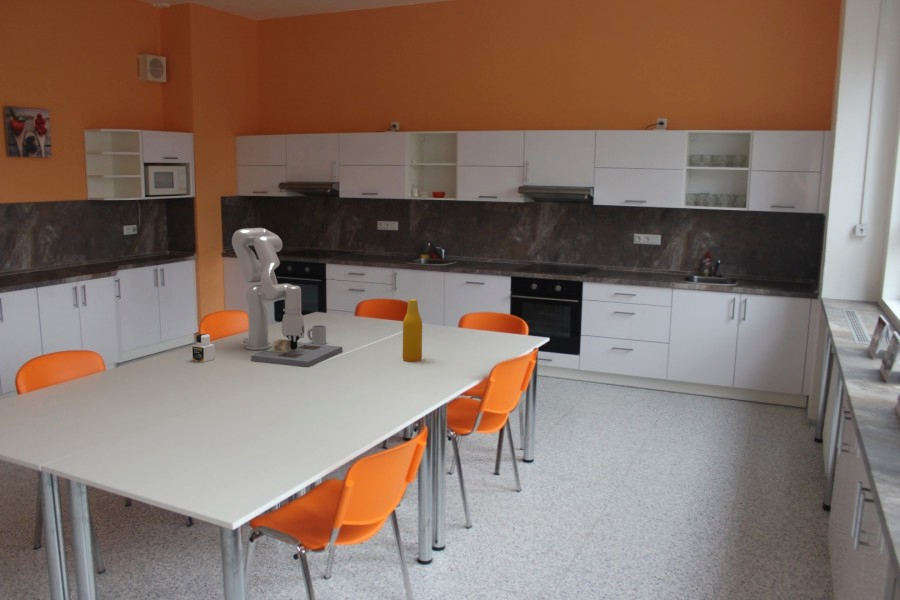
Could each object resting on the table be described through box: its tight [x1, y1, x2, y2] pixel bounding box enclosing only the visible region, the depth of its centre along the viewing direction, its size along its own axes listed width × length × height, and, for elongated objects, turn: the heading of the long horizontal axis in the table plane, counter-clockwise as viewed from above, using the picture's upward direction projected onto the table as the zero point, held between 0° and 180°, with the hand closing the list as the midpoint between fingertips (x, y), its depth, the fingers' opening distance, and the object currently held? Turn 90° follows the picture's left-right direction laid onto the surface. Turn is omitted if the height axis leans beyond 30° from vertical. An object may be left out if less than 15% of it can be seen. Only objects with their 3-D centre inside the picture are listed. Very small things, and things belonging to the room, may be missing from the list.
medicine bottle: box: [191, 333, 216, 363], centre depth 358 cm, size 7×7×12 cm
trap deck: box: [250, 341, 343, 368], centre depth 370 cm, size 30×34×2 cm
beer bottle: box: [402, 298, 423, 363], centre depth 365 cm, size 9×9×29 cm
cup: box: [306, 324, 327, 345], centre depth 398 cm, size 7×10×9 cm
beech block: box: [273, 338, 291, 352], centre depth 371 cm, size 6×6×4 cm
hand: (293, 349), depth 370 cm, fingers closed
